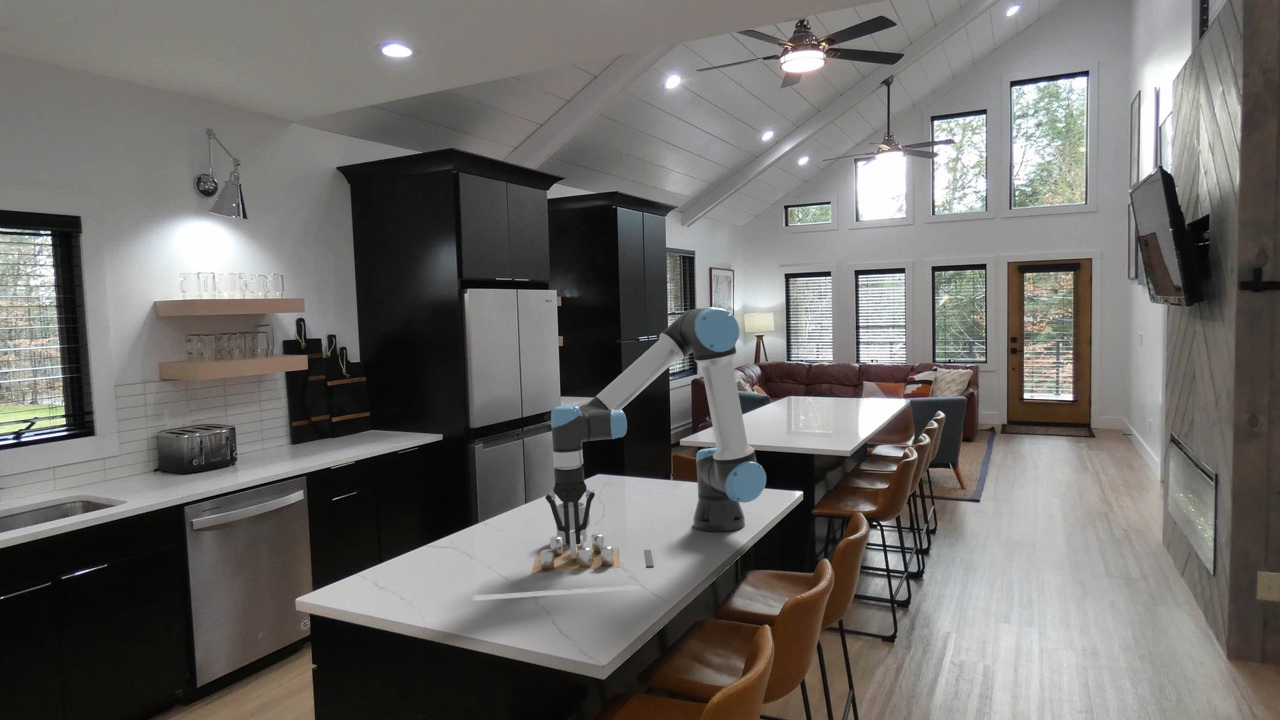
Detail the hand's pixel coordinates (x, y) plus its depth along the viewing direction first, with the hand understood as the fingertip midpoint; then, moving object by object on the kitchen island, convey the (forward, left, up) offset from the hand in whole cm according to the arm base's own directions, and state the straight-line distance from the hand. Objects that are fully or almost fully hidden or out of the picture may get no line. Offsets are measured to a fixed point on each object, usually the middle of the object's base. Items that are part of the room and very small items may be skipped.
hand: (574, 556), depth 195 cm
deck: (-1, 0, -2) cm, 2 cm away
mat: (-16, 0, -2) cm, 16 cm away
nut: (-3, 0, -1) cm, 3 cm away
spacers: (-1, 0, -1) cm, 2 cm away
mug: (0, -19, -2) cm, 19 cm away
